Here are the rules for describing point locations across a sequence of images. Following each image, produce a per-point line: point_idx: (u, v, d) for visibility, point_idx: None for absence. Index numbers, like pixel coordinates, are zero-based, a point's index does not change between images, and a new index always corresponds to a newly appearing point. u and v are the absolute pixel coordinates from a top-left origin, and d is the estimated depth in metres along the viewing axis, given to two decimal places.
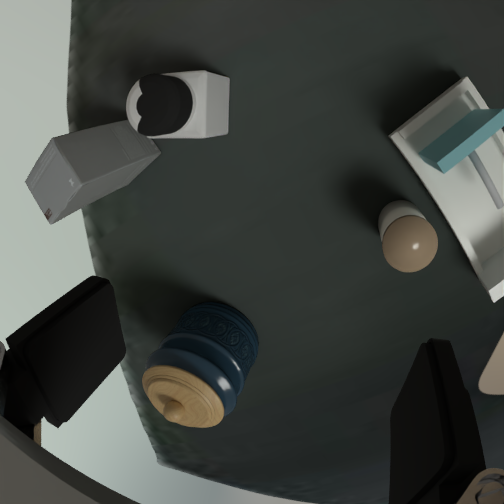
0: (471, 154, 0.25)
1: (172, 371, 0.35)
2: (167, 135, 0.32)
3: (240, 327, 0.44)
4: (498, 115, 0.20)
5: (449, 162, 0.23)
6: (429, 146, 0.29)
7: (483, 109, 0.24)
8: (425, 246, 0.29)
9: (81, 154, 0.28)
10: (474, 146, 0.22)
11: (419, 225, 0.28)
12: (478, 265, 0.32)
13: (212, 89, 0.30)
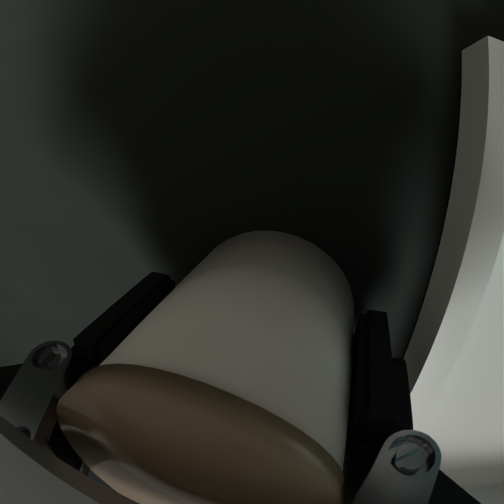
0: None
1: None
2: None
3: None
4: None
5: None
6: None
7: None
8: None
9: None
10: None
11: (287, 502, 0.04)
12: None
13: None
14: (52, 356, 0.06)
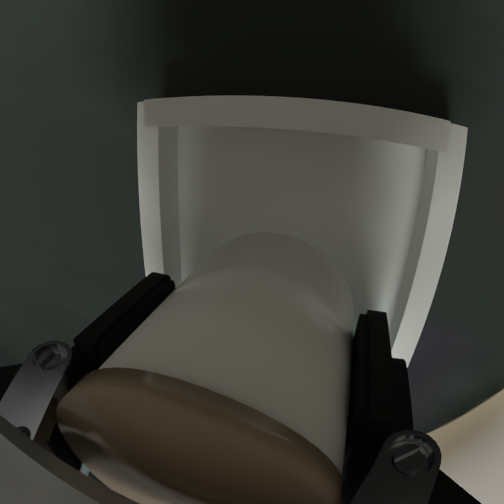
0: None
1: None
2: None
3: None
4: None
5: None
6: None
7: None
8: None
9: None
10: None
11: None
12: None
13: None
14: (52, 356, 0.06)
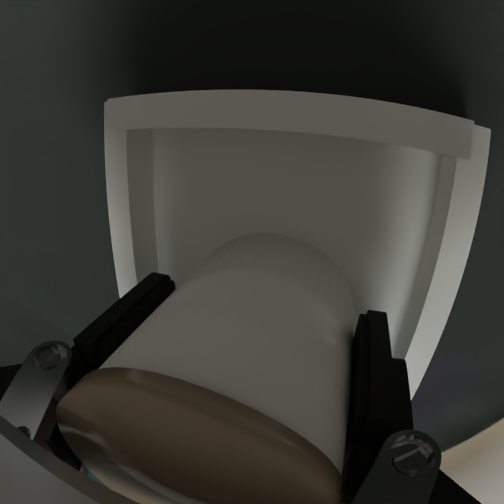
0: None
1: None
2: None
3: None
4: None
5: None
6: None
7: None
8: None
9: None
10: None
11: None
12: None
13: None
14: (52, 356, 0.06)
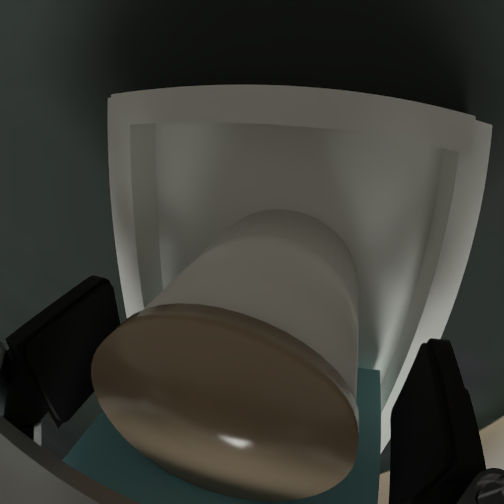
0: None
1: None
2: None
3: None
4: None
5: None
6: None
7: (378, 431, 0.09)
8: (263, 476, 0.06)
9: None
10: None
11: (310, 430, 0.05)
12: None
13: None
14: None
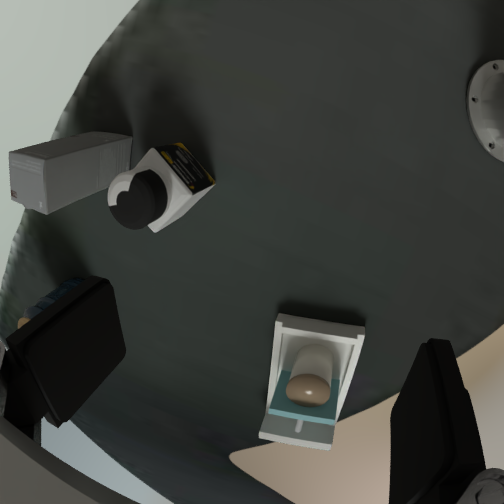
0: None
1: None
2: None
3: None
4: (328, 419, 0.38)
5: (276, 413, 0.40)
6: (289, 375, 0.46)
7: (337, 394, 0.42)
8: (315, 399, 0.39)
9: (60, 182, 0.30)
10: (298, 418, 0.39)
11: (323, 389, 0.38)
12: None
13: (188, 202, 0.36)
14: None
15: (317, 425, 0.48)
